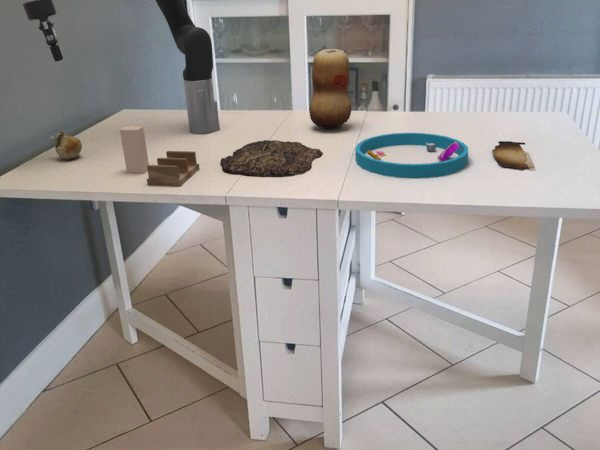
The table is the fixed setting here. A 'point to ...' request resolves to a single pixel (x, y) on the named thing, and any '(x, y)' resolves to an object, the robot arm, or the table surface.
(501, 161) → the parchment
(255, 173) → the stone relief
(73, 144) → the onion
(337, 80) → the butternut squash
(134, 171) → the clay block
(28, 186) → the table surface
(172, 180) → the rack
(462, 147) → the teal plastic ring
